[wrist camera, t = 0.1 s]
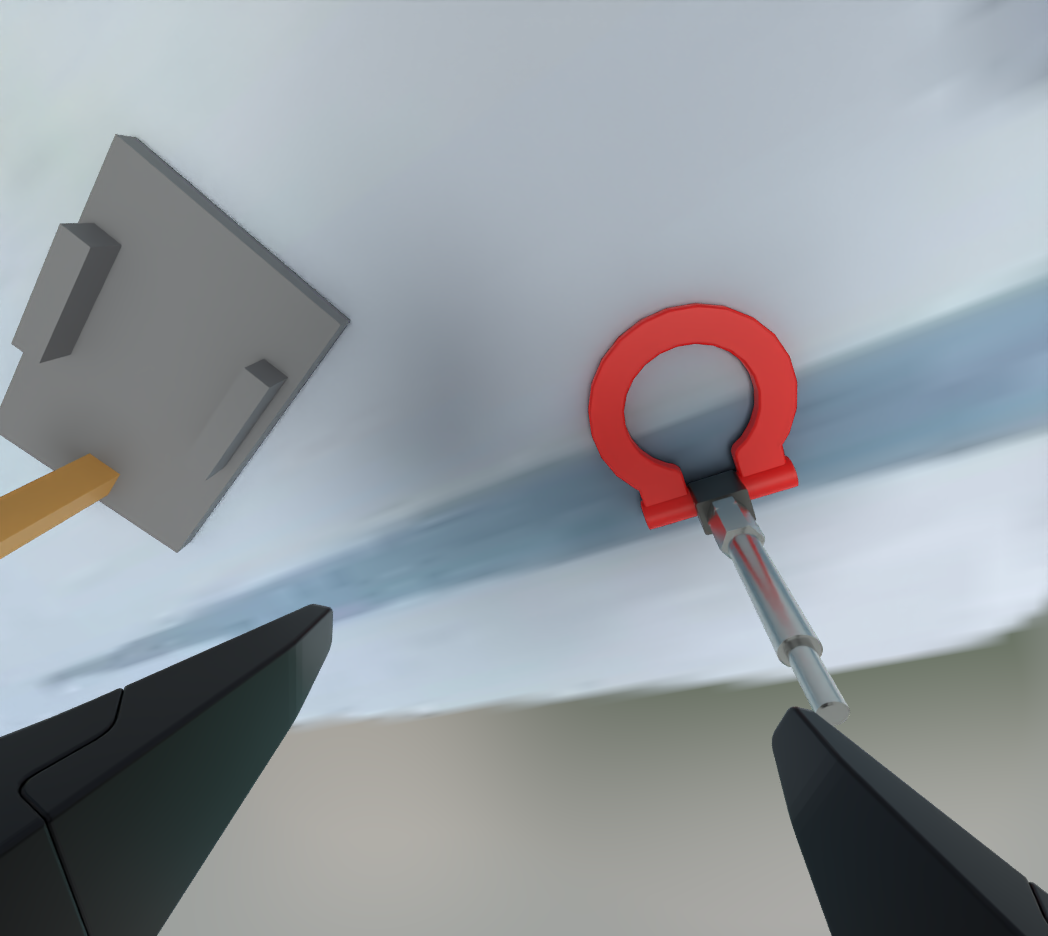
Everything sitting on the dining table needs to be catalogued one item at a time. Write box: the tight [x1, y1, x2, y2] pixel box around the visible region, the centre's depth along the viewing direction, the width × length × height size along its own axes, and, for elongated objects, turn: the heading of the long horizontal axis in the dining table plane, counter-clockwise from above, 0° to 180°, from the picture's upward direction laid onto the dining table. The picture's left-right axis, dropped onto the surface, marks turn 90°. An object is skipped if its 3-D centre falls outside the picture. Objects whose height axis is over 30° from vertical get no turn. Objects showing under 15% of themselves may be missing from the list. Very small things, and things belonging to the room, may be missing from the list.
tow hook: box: [588, 303, 850, 726], centre depth 17 cm, size 8×13×9 cm
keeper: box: [0, 134, 350, 559], centre depth 20 cm, size 16×10×10 cm, turn 138°
